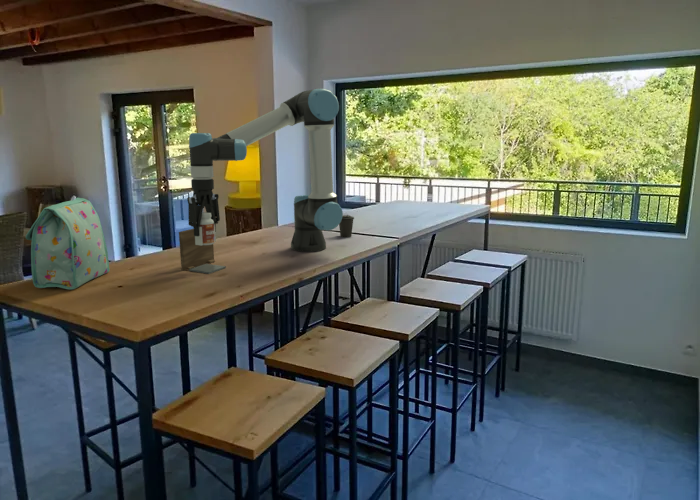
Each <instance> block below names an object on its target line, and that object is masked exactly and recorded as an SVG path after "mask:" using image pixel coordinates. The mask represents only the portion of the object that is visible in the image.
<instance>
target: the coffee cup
mask: <svg viewBox="0 0 700 500" xmlns="http://www.w3.org/2000/svg"><path fill="white" fill-rule="evenodd" d="M354 220H355V217H354V216H353V215H352V216H351V215H348V214H347V215H344V214H343V217H342V220H341V222H340V224H339V225H338V226H339V236H340V237H341V238H351V237H352V236H353V235H352V234H353V228H354V227H353V225H354Z"/></svg>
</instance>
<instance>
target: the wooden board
mask: <svg viewBox="0 0 700 500" xmlns="http://www.w3.org/2000/svg"><path fill="white" fill-rule="evenodd" d="M178 238H179V239H178V241H179V252H180V254H179V255H180V269H181V271H189V269H192V268H195V267H198V266H201V265H204V264H213V263H215V262H216V261H215V252H214V251H215V248H214V247H215V246H214V244H212V245H202V246H201V245H195V236H194V228H190V229H185V230H182V231H178Z"/></svg>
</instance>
